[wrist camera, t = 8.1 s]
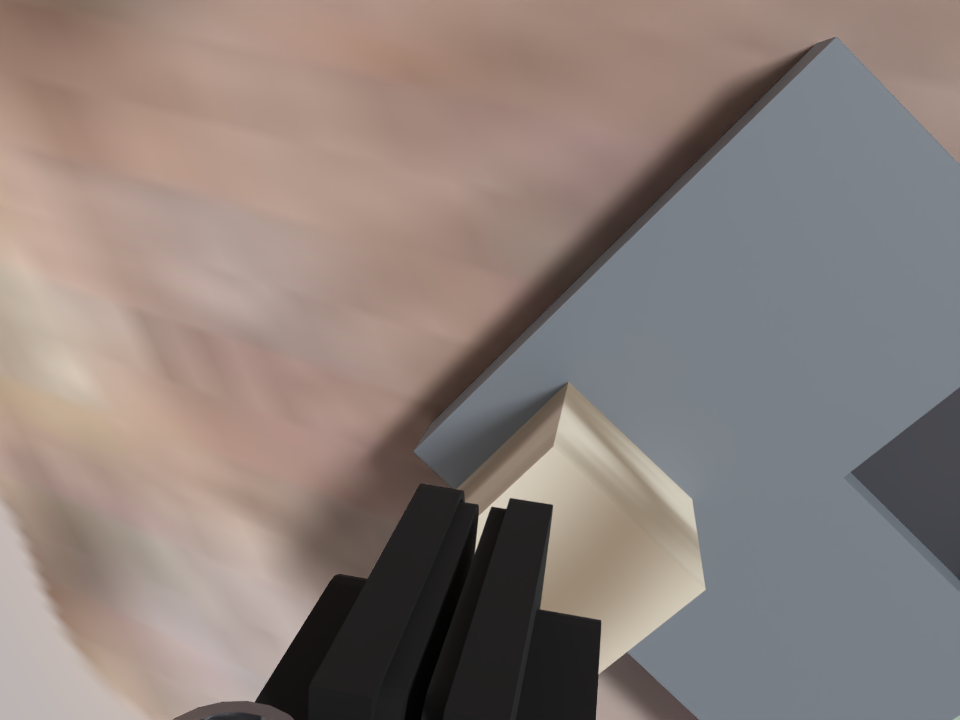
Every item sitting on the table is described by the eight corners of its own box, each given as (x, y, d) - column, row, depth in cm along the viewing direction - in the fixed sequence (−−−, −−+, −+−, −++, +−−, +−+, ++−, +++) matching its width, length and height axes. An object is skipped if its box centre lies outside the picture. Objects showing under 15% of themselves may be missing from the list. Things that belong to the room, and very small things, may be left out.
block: (454, 491, 26) (414, 574, 22) (568, 381, 25) (553, 446, 20) (571, 600, 27) (558, 706, 22) (692, 498, 25) (705, 589, 20)
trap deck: (431, 422, 29) (386, 493, 23) (816, 43, 24) (868, 26, 18) (1003, 963, 31) (1078, 1137, 26) (1469, 720, 26) (1681, 876, 20)
